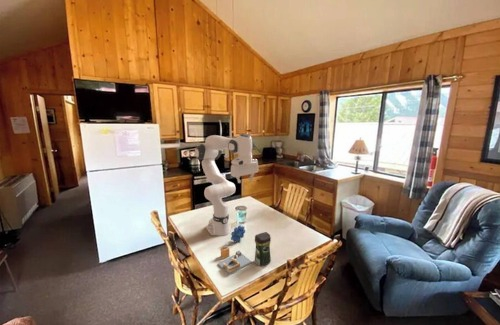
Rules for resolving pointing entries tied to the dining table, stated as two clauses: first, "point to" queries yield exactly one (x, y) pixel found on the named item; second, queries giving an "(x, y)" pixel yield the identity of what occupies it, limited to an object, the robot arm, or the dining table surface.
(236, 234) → the grapes
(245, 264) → the routing panel
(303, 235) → the dining table surface
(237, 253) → the routed cable
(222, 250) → the block
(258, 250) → the coffee jar
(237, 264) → the bracket
